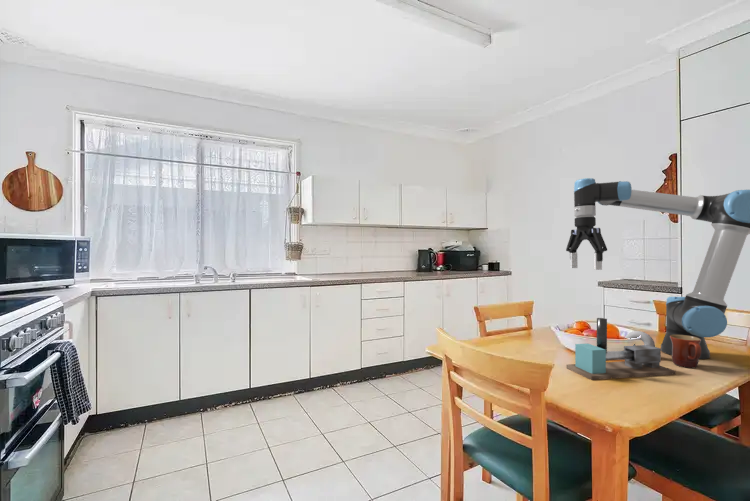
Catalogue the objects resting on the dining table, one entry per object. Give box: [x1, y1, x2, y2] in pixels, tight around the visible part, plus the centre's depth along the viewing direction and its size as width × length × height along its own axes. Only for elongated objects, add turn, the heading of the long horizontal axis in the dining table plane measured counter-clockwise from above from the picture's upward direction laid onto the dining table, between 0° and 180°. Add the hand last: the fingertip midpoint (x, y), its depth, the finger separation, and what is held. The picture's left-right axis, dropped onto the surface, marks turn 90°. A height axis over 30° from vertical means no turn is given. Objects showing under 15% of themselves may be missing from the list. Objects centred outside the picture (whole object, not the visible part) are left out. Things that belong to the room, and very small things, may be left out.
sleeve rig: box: [565, 344, 677, 381], centre depth 127 cm, size 32×12×8 cm, turn 99°
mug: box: [670, 335, 701, 369], centre depth 131 cm, size 12×9×10 cm
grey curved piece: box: [624, 330, 656, 347], centre depth 144 cm, size 10×4×10 cm, turn 40°
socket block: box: [574, 343, 607, 374], centre depth 125 cm, size 5×8×8 cm, turn 9°
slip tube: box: [596, 317, 634, 362], centre depth 126 cm, size 18×3×14 cm, turn 99°
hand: (585, 268), depth 150 cm, fingers open, 13 cm apart
